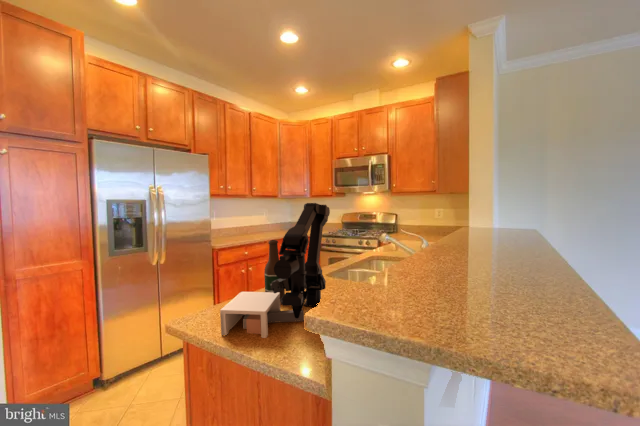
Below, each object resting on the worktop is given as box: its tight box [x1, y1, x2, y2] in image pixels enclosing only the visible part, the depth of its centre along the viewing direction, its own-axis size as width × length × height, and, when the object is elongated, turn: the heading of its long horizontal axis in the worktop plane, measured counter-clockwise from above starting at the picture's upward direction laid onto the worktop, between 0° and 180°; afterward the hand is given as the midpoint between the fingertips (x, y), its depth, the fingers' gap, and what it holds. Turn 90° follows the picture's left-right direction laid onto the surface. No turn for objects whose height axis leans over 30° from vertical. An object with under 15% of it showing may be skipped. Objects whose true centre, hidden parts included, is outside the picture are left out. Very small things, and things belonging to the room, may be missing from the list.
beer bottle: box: [264, 239, 286, 303], centre depth 114 cm, size 8×8×24 cm
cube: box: [246, 314, 261, 335], centre depth 89 cm, size 4×4×4 cm
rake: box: [242, 309, 305, 330], centre depth 93 cm, size 6×19×3 cm, turn 92°
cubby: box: [219, 291, 281, 339], centre depth 93 cm, size 16×14×8 cm
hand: (297, 316), depth 95 cm, fingers closed on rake, 2 cm apart
